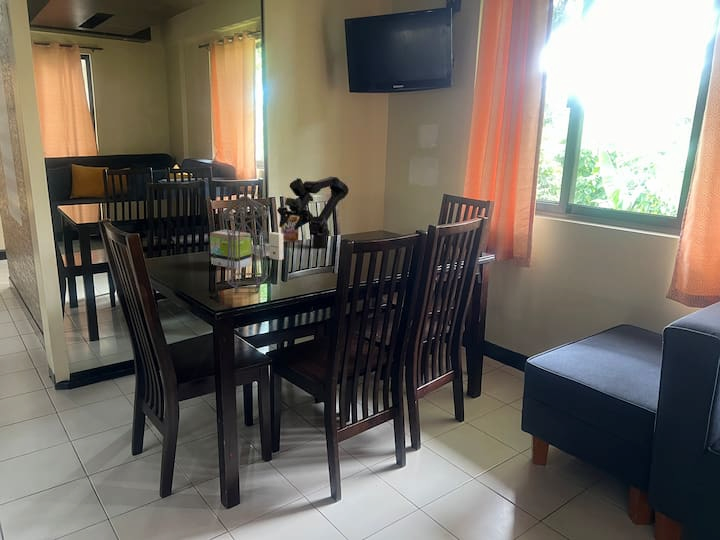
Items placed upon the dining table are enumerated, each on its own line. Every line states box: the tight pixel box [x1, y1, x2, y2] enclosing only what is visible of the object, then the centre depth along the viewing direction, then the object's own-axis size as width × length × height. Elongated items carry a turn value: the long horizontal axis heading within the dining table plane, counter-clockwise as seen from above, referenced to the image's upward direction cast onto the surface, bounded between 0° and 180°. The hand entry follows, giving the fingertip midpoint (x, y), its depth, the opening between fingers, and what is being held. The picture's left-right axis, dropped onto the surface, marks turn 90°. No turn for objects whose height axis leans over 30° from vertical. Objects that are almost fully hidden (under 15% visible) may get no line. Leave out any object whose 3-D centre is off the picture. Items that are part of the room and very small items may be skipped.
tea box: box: [209, 229, 252, 270], centre depth 230 cm, size 15×10×15 cm
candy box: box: [280, 215, 299, 243], centre depth 284 cm, size 9×4×15 cm, turn 109°
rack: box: [251, 242, 269, 258], centre depth 254 cm, size 13×9×4 cm
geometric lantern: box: [219, 195, 270, 294], centre depth 190 cm, size 16×16×35 cm
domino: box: [268, 231, 285, 261], centre depth 244 cm, size 6×3×12 cm, turn 57°
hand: (287, 228), depth 249 cm, fingers open, 9 cm apart
